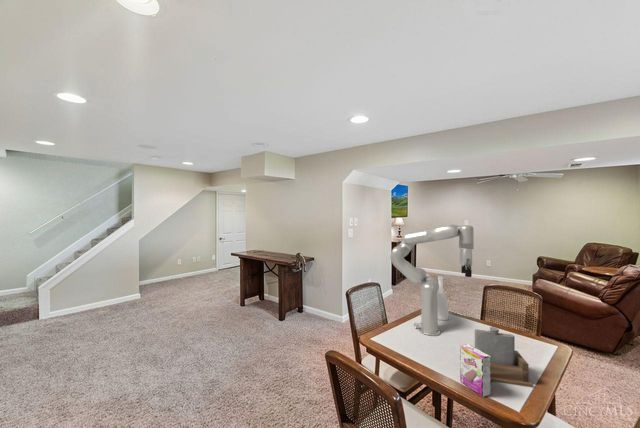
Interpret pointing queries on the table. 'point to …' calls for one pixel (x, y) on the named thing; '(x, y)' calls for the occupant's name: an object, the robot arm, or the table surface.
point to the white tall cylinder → (442, 301)
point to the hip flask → (496, 345)
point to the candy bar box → (475, 370)
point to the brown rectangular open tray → (512, 372)
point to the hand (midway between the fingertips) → (466, 275)
